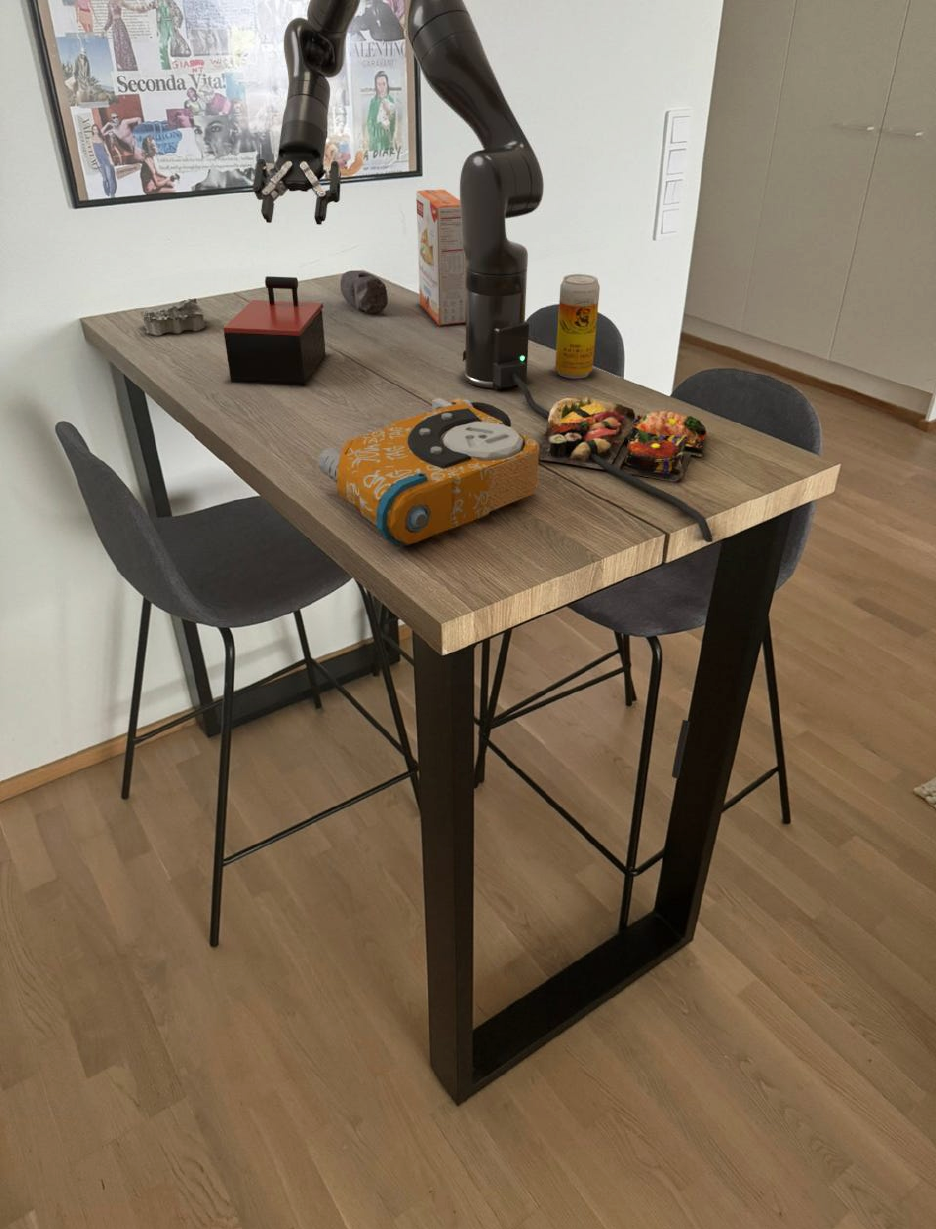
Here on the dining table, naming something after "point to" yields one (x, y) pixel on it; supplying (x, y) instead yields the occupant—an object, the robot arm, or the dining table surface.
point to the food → (622, 437)
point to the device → (434, 469)
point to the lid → (275, 312)
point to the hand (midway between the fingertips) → (292, 221)
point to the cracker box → (441, 257)
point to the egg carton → (175, 318)
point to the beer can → (577, 325)
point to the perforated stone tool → (364, 291)
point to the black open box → (276, 355)
